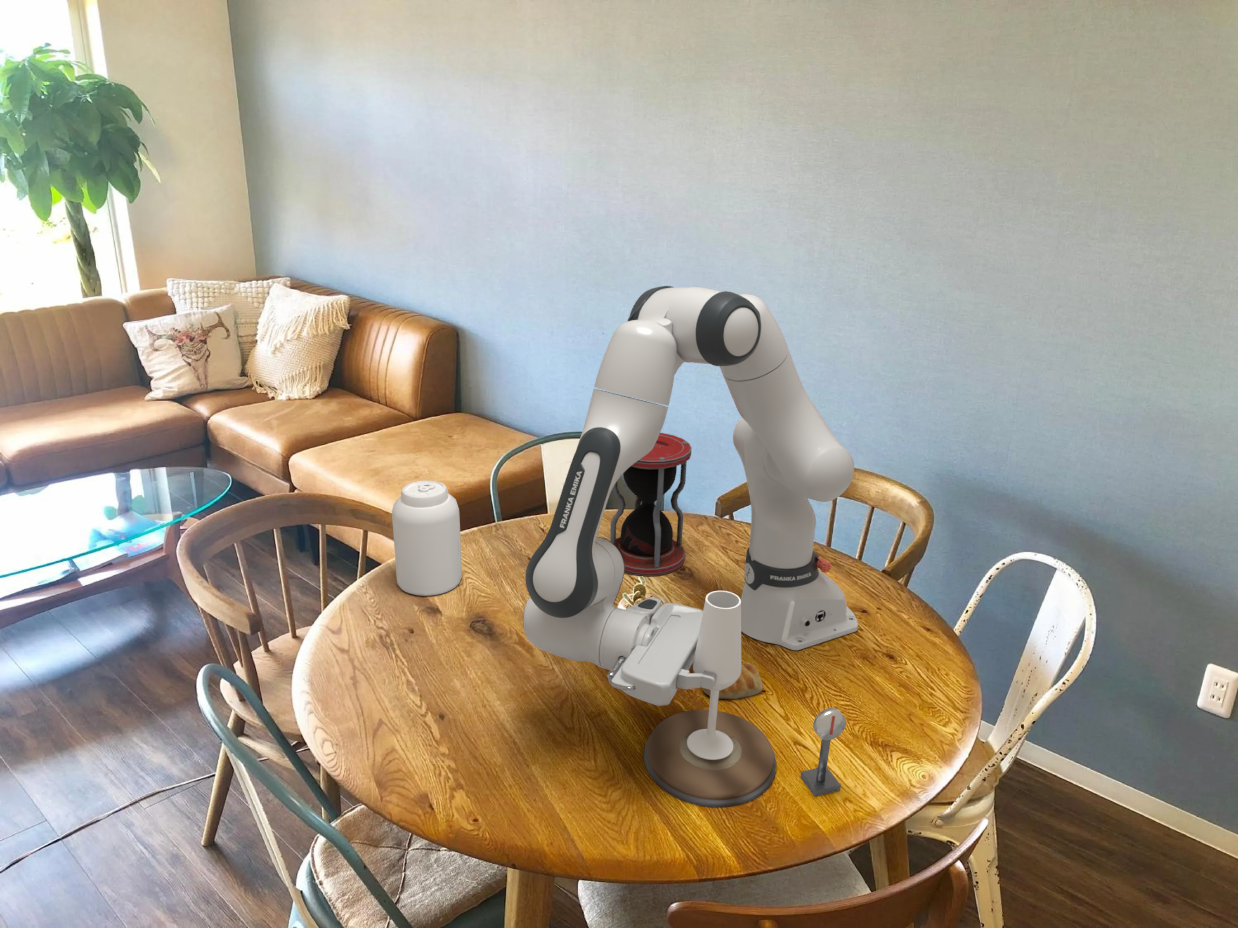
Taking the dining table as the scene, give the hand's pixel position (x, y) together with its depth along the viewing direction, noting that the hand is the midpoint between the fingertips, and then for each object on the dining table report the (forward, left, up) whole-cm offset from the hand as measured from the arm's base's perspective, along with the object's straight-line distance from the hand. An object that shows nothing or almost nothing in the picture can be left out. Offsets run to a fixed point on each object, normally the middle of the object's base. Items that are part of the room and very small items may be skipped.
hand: (723, 665), depth 127 cm
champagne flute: (+1, -1, -14) cm, 14 cm away
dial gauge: (-12, +8, -16) cm, 22 cm away
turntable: (+1, -1, -16) cm, 16 cm away
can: (+33, -64, -17) cm, 73 cm away
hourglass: (-11, -62, -17) cm, 65 cm away
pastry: (-10, -15, -17) cm, 25 cm away
